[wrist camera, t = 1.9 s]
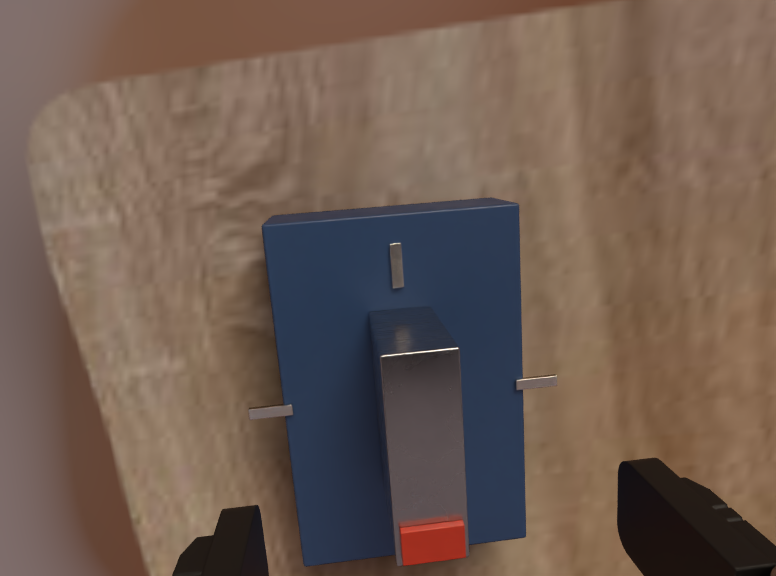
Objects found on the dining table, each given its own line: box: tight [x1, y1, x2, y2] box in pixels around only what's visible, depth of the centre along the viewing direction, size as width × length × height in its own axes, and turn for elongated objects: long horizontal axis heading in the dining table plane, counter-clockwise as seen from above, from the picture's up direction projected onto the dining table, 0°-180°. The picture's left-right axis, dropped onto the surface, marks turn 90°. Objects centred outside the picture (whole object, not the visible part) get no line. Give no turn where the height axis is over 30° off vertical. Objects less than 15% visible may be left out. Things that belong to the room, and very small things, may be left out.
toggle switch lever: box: [369, 306, 470, 566], centre depth 16 cm, size 6×2×4 cm, turn 4°
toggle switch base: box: [248, 198, 557, 567], centre depth 20 cm, size 12×10×3 cm
